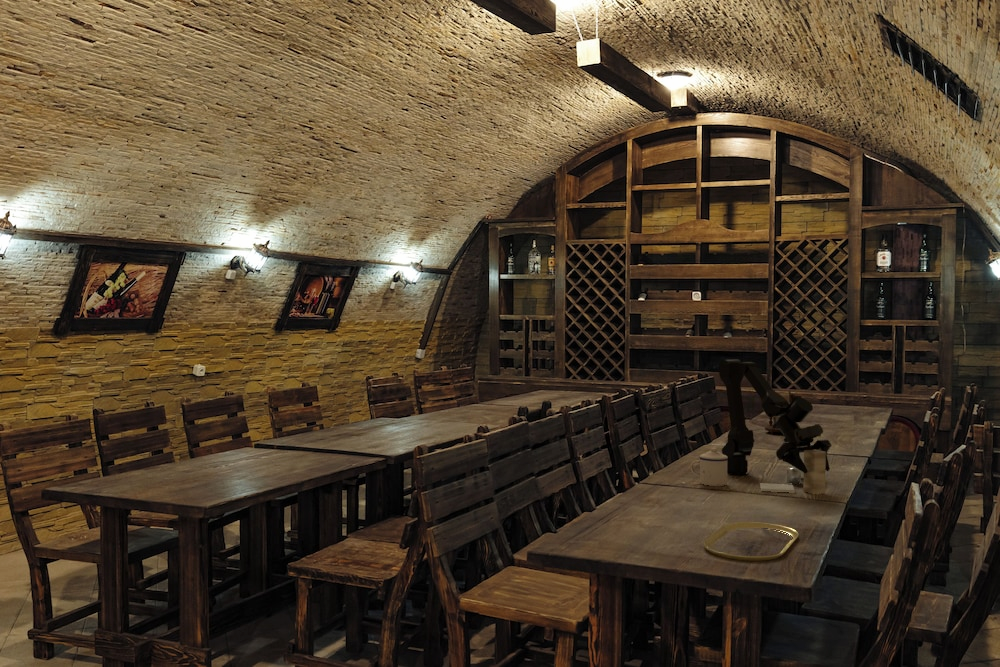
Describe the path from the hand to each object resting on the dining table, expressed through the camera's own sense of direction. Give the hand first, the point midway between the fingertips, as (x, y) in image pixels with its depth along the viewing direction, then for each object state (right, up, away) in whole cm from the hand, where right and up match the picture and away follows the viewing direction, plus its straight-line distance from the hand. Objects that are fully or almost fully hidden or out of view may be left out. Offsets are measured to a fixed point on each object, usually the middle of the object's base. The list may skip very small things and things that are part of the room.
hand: (817, 471), depth 283 cm
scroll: (+30, -3, +134) cm, 137 cm away
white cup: (+5, -6, +28) cm, 29 cm away
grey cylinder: (-2, -6, +16) cm, 18 cm away
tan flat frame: (-37, -9, -59) cm, 71 cm away
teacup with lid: (-30, -6, +15) cm, 34 cm away
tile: (-11, -7, +5) cm, 14 cm away
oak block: (-1, -7, +1) cm, 7 cm away
